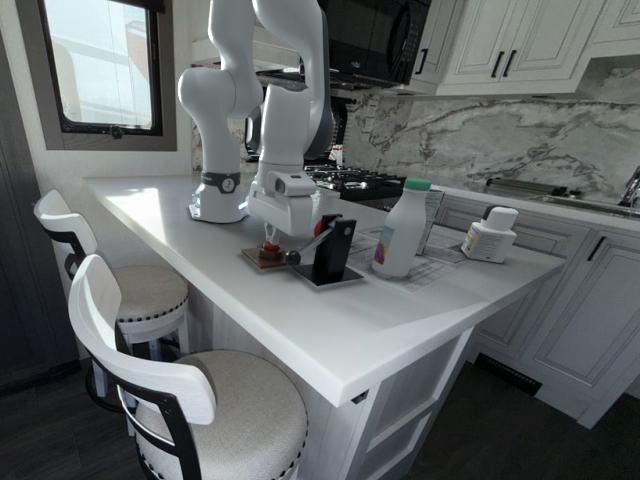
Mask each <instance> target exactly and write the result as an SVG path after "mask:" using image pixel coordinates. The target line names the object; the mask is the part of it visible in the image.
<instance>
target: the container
mask: <svg viewBox="0 0 640 480" xmlns="http://www.w3.org/2000/svg"><path fill="white" fill-rule="evenodd" d="M519 211H520V210H518V209H516V208H515V207H511V206H507V205H500V204H498V205H497V204H492V205H488V206H487V207H486V209H485V211H484V213H483V215H482V218H481V220H480V222H477V221H473V222H472V223H471V225H470V227H469V230H468V232H467V234H466V236H465V238H464V240H463V243H462V245H461V248H460V249H461V250H462V252H463V253H464V255H466V257H467V258H468V259H469V260H470V259H471V260H477V261H482V262H483V261H485V262H489V263H497V264H503V262H504V260H505V259H506V257H507V255H508V254H509V251H510V249H511V247H512V246H513V244H514V242H515V240H516V238H517V236H518V234H516V233H515V232H514V231H513V230H512V229H511V228H513V226H514V224H515V222H516V220H517V218H518V216H519V214H520V212H519Z"/></svg>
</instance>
